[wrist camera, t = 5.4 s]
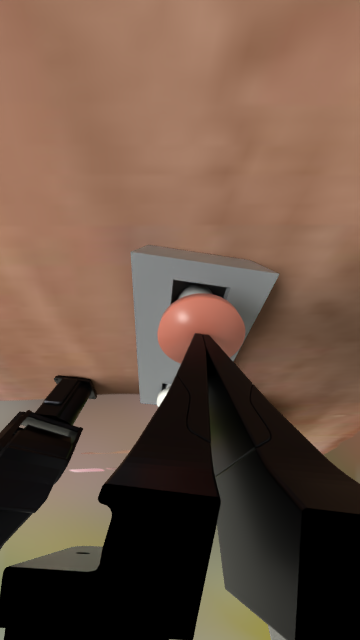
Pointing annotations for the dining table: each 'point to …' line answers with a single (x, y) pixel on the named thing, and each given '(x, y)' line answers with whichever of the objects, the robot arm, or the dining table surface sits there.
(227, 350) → the red plunger
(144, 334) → the block
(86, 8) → the dining table surface
